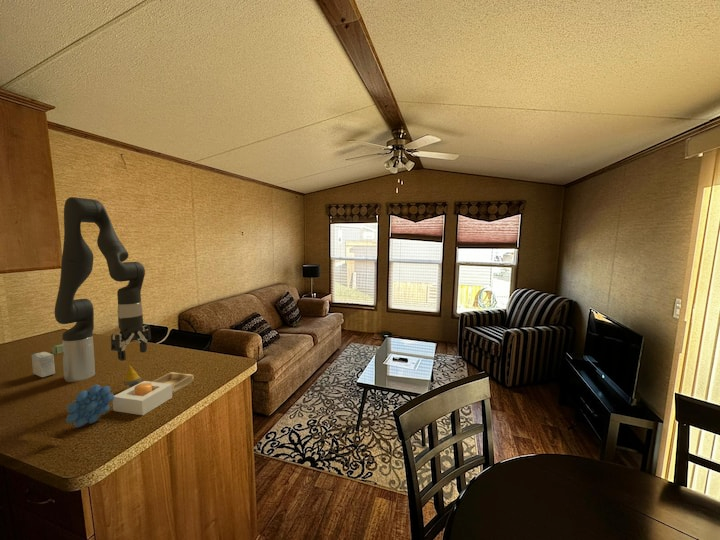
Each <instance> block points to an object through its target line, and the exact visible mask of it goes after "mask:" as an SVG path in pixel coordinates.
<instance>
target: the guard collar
mask: <svg viewBox="0 0 720 540" xmlns="http://www.w3.org/2000/svg"><path fill="white" fill-rule="evenodd" d="M143 383H151V384H152V391H151V392H150V393H148V394H146V395H144V396H137V395H135V390H134V388H135V386H137V385H139V384H143ZM137 385H135V386H133V387H128V388H127V389H125V390H122V391H120V392H119V393H117V394H115V395H114V398H113V400H112V410H113V411H114V412H119V413H125V414H133V415H138V416H144V415H146V414H148V413H149V412H151V411H153V410H154V409H156V408H157V407H159V406H161V405H162V404H164V403H166V402H168V400H170V399H172V398H173V394H172V384H165V383H157V382H152V381H150V380H144V381H141V382H138V384H137Z"/></svg>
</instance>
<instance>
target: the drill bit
mask: <svg viewBox="0 0 720 540" xmlns="http://www.w3.org/2000/svg"><path fill="white" fill-rule="evenodd" d="M141 380H142V377H141V376H139V375H138V373H137V372H136V371H135V370H134V369H133V367H132V365H130V364H128V367H127V369H126V374H125V381H123V384H124V386H129V388H131V387H133V386H135V385H137V384H139V382H140V381H141Z"/></svg>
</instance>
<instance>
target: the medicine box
mask: <svg viewBox="0 0 720 540" xmlns="http://www.w3.org/2000/svg"><path fill="white" fill-rule="evenodd" d="M31 364H32V373H33V374H34V375H36V376H37V377H40V378H45V377H48V376H51V375H55V374H56V370H55V369H56V368H55V367H56V366H55V357H54V354H52V353H50V352H47V351H41V352H37V353H34V354H31Z"/></svg>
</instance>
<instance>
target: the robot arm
mask: <svg viewBox="0 0 720 540" xmlns="http://www.w3.org/2000/svg"><path fill="white" fill-rule="evenodd" d="M81 223H88V224H89V223H92V224H93V223H94V224H95V225H96V226H97V227H98V229H99V232H98V234H97V241H96V243H97V247H98V249H99V251H100V252H101V254H102V255H103V257H104V259H105V260H106V264H107V268H108V273H109V277H110V278H111V279H112V280H114V281H115V282H120V283H122V282H128V284H127V285H125V286H122V287H121V288H118V289H117V293H116V294H117V321H118V322H117V323H118V328H119V333H112V334H111V335H110V350H111V351H112V352H113V351H115V352H117V359H118V360H119V361H122V362H123V361H126V360H127V358H126V348H127V346H128V345H129V344H130V343H131V342H134V341H138V342H139V352H140V353H146V352H147V351H148V350H147V349H148V347H147V346H148V344H147V343H148V341H150V340H152V333H151V326H150V325H147V324H144V316H143V315H144V314H143V313H144V312H143V305H142V292H141V291H142V288H143V283H144V279H145V275H146V270H145V266H144V265H143V264H142V263H141V262H139V261H126V260H127V259H128V258H129V253H128V250H127V249H126V247H125V246H124V245H123V243H122V242H121V240H120V238H119V237H118V235H117V233H116V231H115V229H114V226H113V224H112V221H111V218H110V217H109V214H108V211H107V209H106V208H105V206H104V204H103V203H102V202H101V201H100V200H97V199H91V198H83V197H76V196H75V197H74V196H70V197H68V198H67V199H66V200H65V202H64V206H63V231H64V232H63V247H62V255H61V264H60V279H59V287H58V291H57V296H56V300H55V305H54V318H55V321H56V322H57V323H59V324H61V325H68V324H74V323H75V324H74V325H73V326H72V327H70V328H69V329H67V330H65V331H64V332H63V333H62V336H61V339H62V344H63V351H64V352H63V357H62V365H63V366H62V368H63V380H65V382H67V383H74V382H80V381H85V380H87V379H89V378H92V377H94V376H95V375H96V368H95V367H96V364H95V349H94V348H95V347H94V337H93V332H94V328H95V327H94V324H95V323H94V322H95V321H94V320H95V319H94V317H95V316H94V315H95V311H94V305H93V302H91V300H90V299H89V298H78V299H75V296H76V293H77V291H78V289H80V287H81V286H82V285H83V283H84V282H85V281H86V280H87V279H88V278H89V276H90V275H91V273H92V272H93V267H94V266H93V265H94V257H95V256H94V253H93V251H92V249H91V247H90V246H89V245H88V243H87V242H86V241H85V239H84V238H83V235H82V229H81V225H82V224H81ZM125 261H126V262H125Z"/></svg>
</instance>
